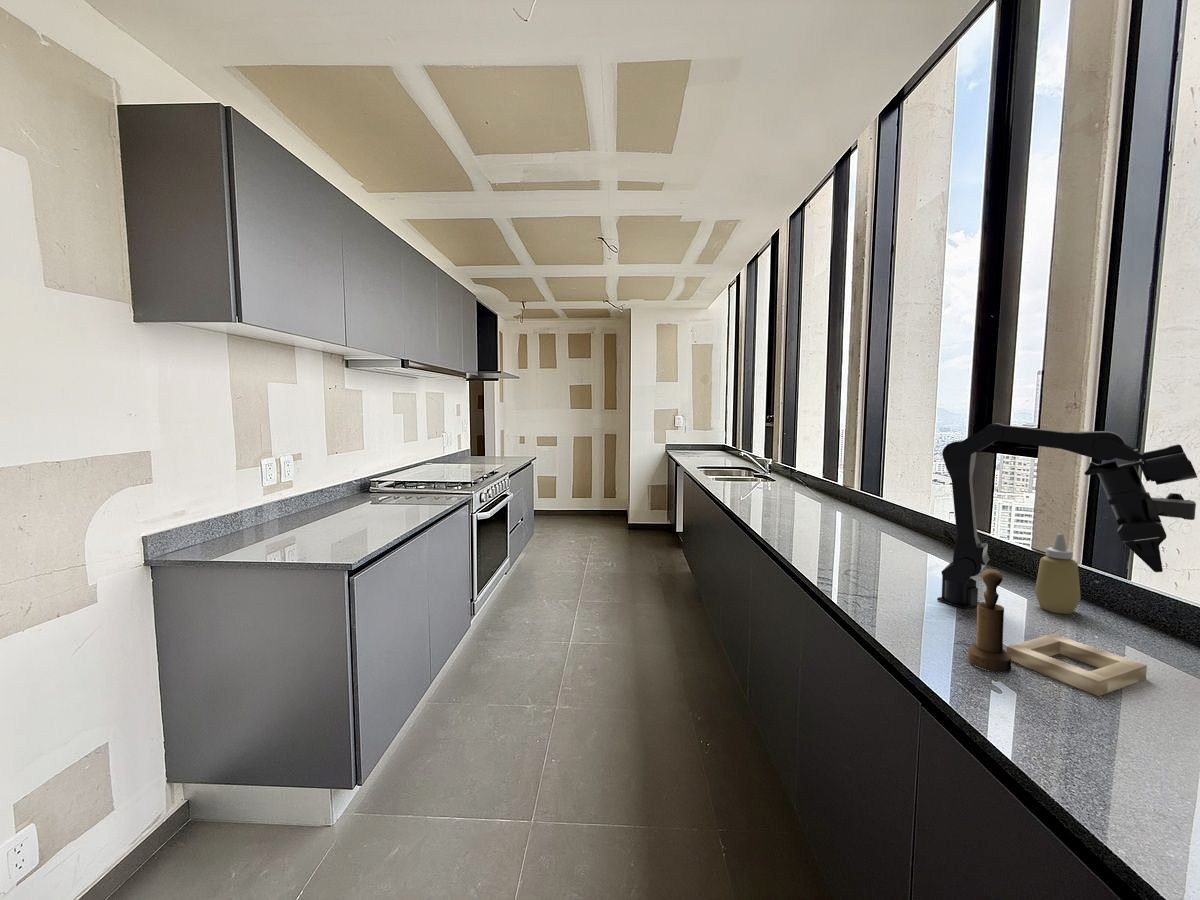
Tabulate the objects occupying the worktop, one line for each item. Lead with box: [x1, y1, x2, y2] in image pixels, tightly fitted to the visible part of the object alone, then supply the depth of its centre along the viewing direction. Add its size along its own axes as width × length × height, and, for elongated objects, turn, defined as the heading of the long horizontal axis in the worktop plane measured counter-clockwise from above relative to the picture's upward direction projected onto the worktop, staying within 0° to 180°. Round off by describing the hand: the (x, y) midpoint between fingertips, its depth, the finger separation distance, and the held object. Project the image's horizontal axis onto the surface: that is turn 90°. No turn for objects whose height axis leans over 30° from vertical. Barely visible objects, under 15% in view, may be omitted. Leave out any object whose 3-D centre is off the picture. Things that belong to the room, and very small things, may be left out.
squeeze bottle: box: [1034, 533, 1082, 615], centre depth 121 cm, size 8×8×18 cm
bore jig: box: [1006, 633, 1148, 697], centre depth 95 cm, size 14×14×2 cm
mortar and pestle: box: [967, 568, 1012, 673], centre depth 97 cm, size 7×6×18 cm
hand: (1157, 566), depth 103 cm, fingers open, 9 cm apart
